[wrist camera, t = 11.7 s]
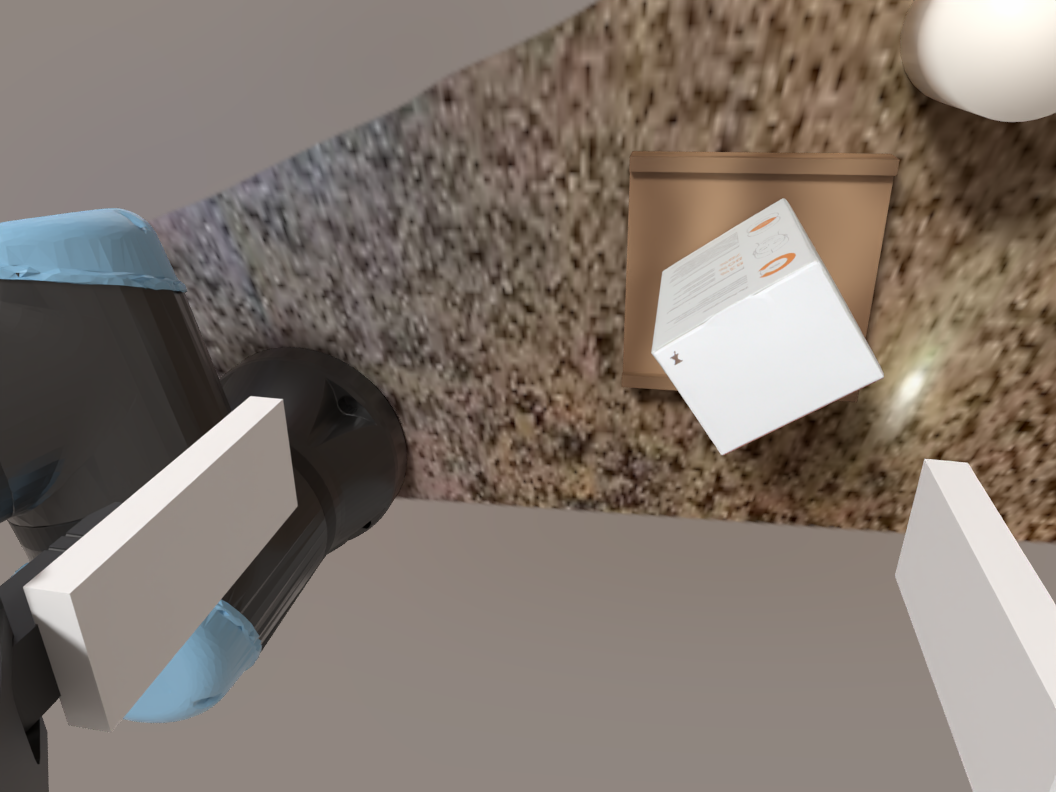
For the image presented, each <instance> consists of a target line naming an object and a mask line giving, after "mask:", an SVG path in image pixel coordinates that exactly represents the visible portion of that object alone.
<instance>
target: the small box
mask: <svg viewBox="0 0 1056 792" xmlns="http://www.w3.org/2000/svg"><path fill="white" fill-rule="evenodd" d="M651 353H652V355H653V356H654V357H655V359H656V360H657V362H658V363H659V364H660V366H661V367H662V369H663V370H664V371H665V373H666V374H667V376H668V377H669V379H670V380H671V381H672V383H673V384H674V386H675V387H676V389H677V390H678V392H679V393H680V394H681V396H682V397H683V399H684V400H685V402H686V403H687V405H688V406H689V408H690V409H691V410H692V412H693V413H694V415H695V416H696V418H697V419H698V421H699V422H700V424H701V425H702V427H703V428H704V430H705V431H706V433H707V434H708V436H709V437H710V439H711V440H712V442H713V443H714V445H715V446H716V448H717V449H718V451H719V452H720V454H721V455H726V454H728V453H730V452H732V451H734V450H736V449H738V448H740V447H742V446H744V445H746V444H748V443H750V442H752V441H754V440H756V439H758V438H761V437H763V436H765V435H767V434H769V433H771V432H773V431H775V430H777V429H779V428H781V427H783V426H785V425H787V424H789V423H791V422H793V421H796V420H798V419H800V418H802V417H804V416H806V415H808V414H810V413H812V412H814V411H816V410H818V409H821V408H823V407H825V406H827V405H829V404H830V403H832V402H835V401H837V400H839V399H841V398H843V397H845V396H847V395H849V394H851V393H853V392H855V391H857V390H859V389H862V388H864V387H866V386H868V385H870V384H872V383H874V382H876V381H878V380H880V379H883V378H884V373H883V371H882V369H881V367H880V365H879V363H878V361H877V359H876V357H875V356H874V354H873V352H872V350H871V348H870V346H869V345H868V343H867V341H866V339H865V337H864V335H863V334H862V332H861V330H860V328H859V326H858V324H857V322H856V320H855V319H854V317H853V315H852V313H851V311H850V309H849V307H848V306H847V304H846V302H845V300H844V298H843V297H842V295H841V293H840V291H839V289H838V288H837V286H836V284H835V282H834V280H833V279H832V277H831V275H830V273H829V272H828V270H827V268H826V266H825V265H824V263H823V261H822V259H821V258H820V256H819V254H818V252H817V251H816V249H815V247H814V245H813V244H812V242H811V240H810V239H809V237H808V235H807V233H806V232H805V230H804V228H803V226H802V225H801V223H800V221H799V220H798V218H797V216H796V214H795V213H794V211H793V209H792V208H791V206H790V204H789V203H788V201H787V200H786V199H784V198H782V199H781V200H779V201H777V202H776V203H774V204H772V205H771V206H769V207H767V208H765V209H764V210H762V211H760V212H759V213H757V214H755V215H754V216H752V217H750V218H749V219H747V220H745V221H744V222H742V223H740V224H739V225H737V226H735V227H734V228H732V229H730V230H729V231H727V232H725V233H724V234H722V235H721V236H719V237H717V238H716V239H714V240H712V241H711V242H709V243H707V244H706V245H704V246H702V247H701V248H699V249H698V250H696V251H694V252H693V253H691V254H689V255H688V256H686V257H684V258H683V259H681V260H680V261H678V262H676V263H675V264H673V265H672V266H670V267H668V268H667V269H665V270H664V271H663V272H662V277H661V285H660V292H659V299H658V307H657V315H656V322H655V329H654V337H653V344H652V351H651Z"/></svg>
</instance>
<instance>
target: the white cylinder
mask: <svg viewBox="0 0 1056 792" xmlns="http://www.w3.org/2000/svg"><path fill="white" fill-rule="evenodd" d="M900 53H901V59H902V63H903V66H904V70H905V72H906V74H907V76H908V78H909V79H910V80H911V82H912V83H913V85H914V86H915V87H916V88H917V89H918V90H919V91H920V92H922V93H923V94H924V95H926V96H928V97H929V98H931V99H933V100H936V101H939V102H941V103H944V104H947V105H950V106H953V107H956V108H959V109H962V110H965V111H968V112H971V113H974V114H977V115H980V116H983V117H986V118H989V119H992V120H997V121H1003V122H1024V121H1030V120H1035V119H1039V118H1043V117H1046V116H1049V115H1051V114H1054V113H1056V0H913V2H912V4H911V6H910V8H909V10H908V12H907V14H906V17H905V20H904V22H903V26H902V31H901V38H900Z"/></svg>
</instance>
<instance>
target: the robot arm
mask: <svg viewBox="0 0 1056 792" xmlns="http://www.w3.org/2000/svg"><path fill="white" fill-rule="evenodd" d="M186 292H187V289H186V286H185V285H184V284H183V283H182V282H181V281H179V280H178V279H177V277H176V275H175V272H174V270H173V268H172V266H171V264H170V262H169V260H168V258H167V255H166V253H165V251H164V249H163V247H162V245H161V243H160V240H159V238H158V236H157V234H156V232H155V231H154V229H153V228H152V227H151V225H150V224H149V223H148V222H147V221H146V220H144V219H143V218H142V217H140V216H139V215H137V214H135V213H133V212H130V211H127V210H123V209H118V208H109V209H108V208H107V209H97V210H88V211H80V212H72V213H65V214H58V215H51V216H43V217H36V218H29V219H22V220H15V221H8V222H2V223H0V523H1V522H3V521H5V520H7V521H8V522H9V524H10V525H11V527H12V529H13V531H14V533H15V534H16V536H17V538H18V540H19V542H20V544H21V545H22V547H23V549H24V551H25V553H26V555H27V556H28V559H29V563H26V564H25V565H23V566H22V567H20V568H19V569H18V570H17V571H15V573H14V574H13V575H12V576H11V578H10V579H8V580H7V581H6V582H5V583H3V584H2V585H1V586H0V792H49V787H48V743H47V730H46V727H45V724H44V721H43V718H42V715H43V714H44V713H45V712H46V711H47V710H48V709H49V708H50V707H51V706H52V705H53V704H54V703H55V702H56V700H57V699H58V698H60V701H61V704H62V707H63V710H64V713H65V716H66V719H67V722H68V725H71V726H76V727H82V728H88V729H93V730H99V731H105V732H112V731H113V730H114V728H115V727H116V726H117V725H118V724H119V722H120V721H121V720H122V719H125V720H130V721H136V722H147V723H166V722H175V721H180V720H185V719H188V718H191V717H194V716H197V715H199V714H201V713H203V712H205V711H207V710H208V709H210V708H211V707H213V706H214V705H215V704H216V703H218V702H219V701H220V700H221V699H222V698H223V697H224V696H225V695H226V693H227V692H228V691H229V690H230V688H231V687H232V686H233V685H234V684H235V682H236V681H237V680H238V679H239V677H240V676H241V675H242V674H243V672H244V671H246V670H247V669H249V668H250V667H251V666H252V665H253V664H254V663H255V661H256V660H257V659H258V657H259V654H260V653H261V651H262V650H263V648H264V647H265V645H266V644H267V642H268V641H269V639H270V638H271V636H272V635H273V633H274V632H275V630H276V629H277V627H278V626H279V624H280V623H281V621H282V620H283V618H284V617H285V615H286V614H287V612H288V611H289V609H290V608H291V606H292V605H293V603H294V602H295V600H296V599H297V597H298V596H299V594H300V593H301V591H302V590H303V588H304V587H305V585H306V584H307V582H308V581H309V579H310V578H311V576H312V575H313V573H314V572H315V570H316V569H317V567H318V566H319V565H320V563H321V562H322V560H323V559H324V558H325V556H326V555H327V554H329V553H330V552H332V551H333V550H335V549H337V548H338V547H340V546H342V545H343V544H345V543H346V542H347V541H348V540H351V539H353V538H355V537H357V536H359V535H361V534H362V533H364V532H366V531H367V530H368V529H370V528H371V527H372V526H373V525H375V524H376V523H377V522H378V521H379V520H380V519H381V518H382V516H383V515H384V514H385V513H386V511H387V510H388V508H389V507H390V505H391V503H392V502H393V500H394V499H395V497H396V496H397V494H398V492H399V490H400V488H401V486H402V483H403V480H404V477H405V472H406V465H407V453H406V444H405V439H404V435H403V432H402V429H401V426H400V423H399V421H398V419H397V417H396V415H395V413H394V411H393V409H392V408H391V406H390V404H389V403H388V401H387V400H386V399H385V397H384V396H383V395H382V394H381V392H380V391H379V390H378V389H377V388H376V387H375V386H374V385H373V384H372V383H371V382H370V381H369V380H368V379H367V378H366V377H365V376H363V375H362V374H361V373H360V372H358V371H357V370H355V369H354V368H352V367H351V366H349V365H348V364H346V363H344V362H342V361H341V360H339V359H336V358H334V357H332V356H329V355H327V354H324V353H321V352H318V351H314V350H310V349H304V348H295V347H284V348H274V349H269V350H265V351H262V352H259V353H256V354H254V355H252V356H250V357H248V358H247V359H245V360H243V361H242V362H241V363H239V364H238V365H237V366H235V367H234V368H233V369H231V370H230V371H229V372H227V373H226V374H225V375H224V376H223V377H221V378H220V379H219V377H218V375H217V372H216V370H215V367H214V365H213V362H212V360H211V357H210V355H209V352H208V350H207V347H206V345H205V342H204V340H203V337H202V335H201V332H200V330H199V327H198V325H197V322H196V320H195V317H194V315H193V312H192V310H191V307H190V305H189V302H188V300H187V297H186V295H185V293H186ZM895 577H896V580H897V582H898V585H899V588H900V591H901V594H902V596H903V599H904V602H905V605H906V608H907V610H908V613H909V616H910V619H911V621H912V624H913V627H914V630H915V632H916V635H917V638H918V640H919V643H920V646H921V649H922V652H923V655H924V657H925V660H926V663H927V666H928V669H929V671H930V674H931V677H932V679H933V682H934V685H935V688H936V691H937V693H938V696H939V699H940V701H941V704H942V707H943V710H944V713H945V716H946V718H947V721H948V724H949V727H950V729H951V732H952V735H953V737H954V740H955V743H956V746H957V749H958V752H959V754H960V757H961V760H962V763H963V765H964V768H965V771H966V774H967V776H968V779H969V782H970V785H971V788H972V790H973V792H1056V605H1055V603H1054V601H1053V600H1052V598H1051V597H1050V595H1049V593H1048V592H1047V590H1046V588H1045V587H1044V585H1043V584H1042V582H1041V580H1040V579H1039V577H1038V576H1037V574H1036V572H1035V571H1034V569H1033V568H1032V566H1031V564H1030V563H1029V561H1028V559H1027V558H1026V556H1025V554H1024V553H1023V551H1022V550H1021V548H1020V547H1019V545H1018V543H1017V542H1016V540H1015V538H1014V537H1013V535H1012V533H1011V532H1010V530H1009V529H1008V527H1007V525H1006V524H1005V522H1004V521H1003V519H1002V517H1001V516H1000V514H999V513H998V511H997V509H996V508H995V506H994V504H993V503H992V501H991V500H990V498H989V496H988V495H987V493H986V492H985V490H984V488H983V487H982V485H981V483H980V482H979V480H978V479H977V477H976V475H975V474H974V472H973V471H972V469H971V467H970V466H969V464H968V463H964V462H953V461H943V460H932V459H924V463H923V467H922V471H921V475H920V479H919V483H918V487H917V491H916V495H915V499H914V502H913V506H912V510H911V514H910V518H909V522H908V526H907V530H906V534H905V539H904V542H903V546H902V550H901V554H900V558H899V562H898V566H897V570H896V574H895Z"/></svg>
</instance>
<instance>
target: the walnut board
mask: <svg viewBox="0 0 1056 792" xmlns="http://www.w3.org/2000/svg"><path fill="white" fill-rule="evenodd" d="M898 166H899V159H898V158H896V157H895V156H893V155H892V154H857V153H760V152H662V151H633V152H632V154H631V155H630V167H629V172H630V189H629V216H628V244H627V271H626V299H625V327H624V354H623V373H622V387H630V388H645V389H661V390H676V391H678V390H677V389H676V387H675V386H674V384H673V383H672V381H671V380H670V379H669V377H668V376H667V374H666V373H665V371H664V370H663V369H662V367H661V366H660V364H659V363H658V362H657V360H656V359H655V357H654V356H653V355H652V353H651V351H652V344H653V337H654V329H655V322H656V315H657V307H658V299H659V292H660V285H661V277H662V272H663V271H664V270H665V269H667V268H668V267H670V266H672V265H673V264H675V263H676V262H678V261H680V260H681V259H683V258H684V257H686V256H688V255H689V254H691V253H693V252H694V251H696V250H698V249H699V248H701V247H702V246H704V245H706V244H707V243H709V242H711V241H712V240H714V239H716V238H717V237H719V236H721V235H722V234H724V233H725V232H727V231H729V230H730V229H732V228H734V227H735V226H737V225H739V224H740V223H742V222H744V221H745V220H747V219H749V218H750V217H752V216H754V215H755V214H757V213H759V212H760V211H762V210H764V209H765V208H767V207H769V206H771V205H772V204H774V203H776V202H777V201H779V200H781V199H782V198H784V199H786V200H787V201H788V203H789V204H790V206H791V208H792V209H793V211H794V213H795V214H796V216H797V218H798V220H799V221H800V223H801V225H802V226H803V228H804V230H805V232H806V233H807V235H808V237H809V239H810V240H811V242H812V244H813V245H814V247H815V249H816V251H817V252H818V254H819V256H820V258H821V259H822V261H823V263H824V265H825V266H826V268H827V270H828V272H829V273H830V275H831V277H832V279H833V280H834V282H835V284H836V286H837V288H838V289H839V291H840V293H841V295H842V297H843V298H844V300H845V302H846V304H847V306H848V307H849V309H850V311H851V313H852V315H853V317H854V319H855V320H856V322H857V324H858V326H859V328H860V330H861V332H862V334H863V335H864V337H865V339H866V334H867V328H868V322H869V316H870V311H871V305H872V299H873V293H874V288H875V282H876V276H877V270H878V265H879V259H880V253H881V247H882V242H883V236H884V230H885V224H886V219H887V213H888V207H889V201H890V196H891V190H892V184H893V178H894V175H897V171H898ZM858 394H859V390H857V391H855V392H853V393H851V394H849V395H847V396H845V397H843V398H841V399H839V400H837V401H847V402H857V400H858Z"/></svg>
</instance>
